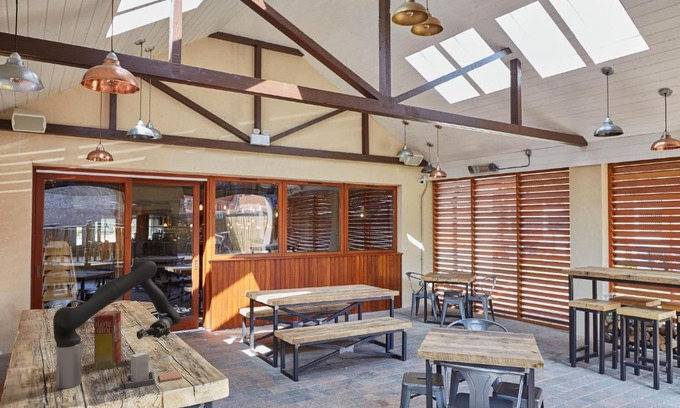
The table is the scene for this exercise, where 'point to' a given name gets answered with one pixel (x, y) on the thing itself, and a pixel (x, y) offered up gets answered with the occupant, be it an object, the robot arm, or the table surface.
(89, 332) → the table surface
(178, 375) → the tile
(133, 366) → the skincare box
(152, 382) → the tray
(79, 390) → the table surface
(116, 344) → the food packaging
